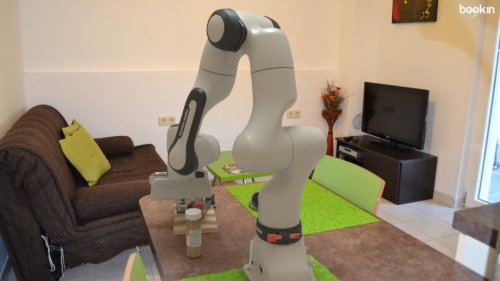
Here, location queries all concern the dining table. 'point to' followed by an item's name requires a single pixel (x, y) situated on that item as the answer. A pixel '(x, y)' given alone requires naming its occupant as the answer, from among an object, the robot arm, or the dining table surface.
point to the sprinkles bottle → (193, 232)
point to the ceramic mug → (254, 200)
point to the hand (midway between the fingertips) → (182, 210)
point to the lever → (203, 204)
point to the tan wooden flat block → (206, 223)
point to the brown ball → (189, 203)
